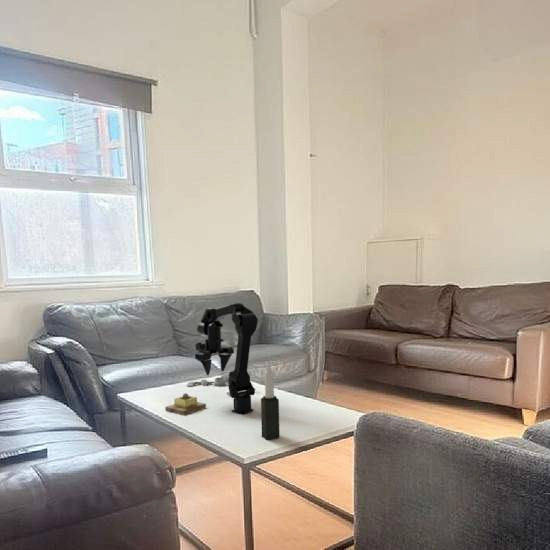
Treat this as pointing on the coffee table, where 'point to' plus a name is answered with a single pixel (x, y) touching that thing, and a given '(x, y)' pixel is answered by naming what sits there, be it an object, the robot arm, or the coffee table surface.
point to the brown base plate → (185, 410)
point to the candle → (270, 408)
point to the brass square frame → (185, 402)
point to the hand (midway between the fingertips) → (215, 372)
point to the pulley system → (217, 382)
